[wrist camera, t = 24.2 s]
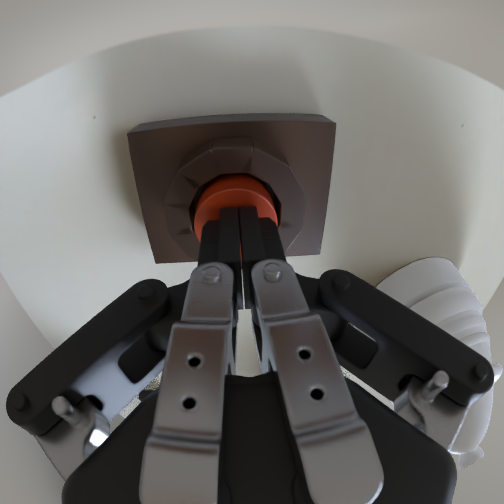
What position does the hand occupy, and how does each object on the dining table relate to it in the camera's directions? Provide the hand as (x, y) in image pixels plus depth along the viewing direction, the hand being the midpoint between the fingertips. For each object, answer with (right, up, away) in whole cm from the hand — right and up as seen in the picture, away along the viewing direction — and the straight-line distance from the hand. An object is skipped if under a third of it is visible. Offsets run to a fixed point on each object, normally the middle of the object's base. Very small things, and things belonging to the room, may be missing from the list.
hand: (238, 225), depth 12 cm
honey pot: (+17, -7, +13) cm, 22 cm away
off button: (0, +1, +1) cm, 2 cm away
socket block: (0, +3, +4) cm, 5 cm away
